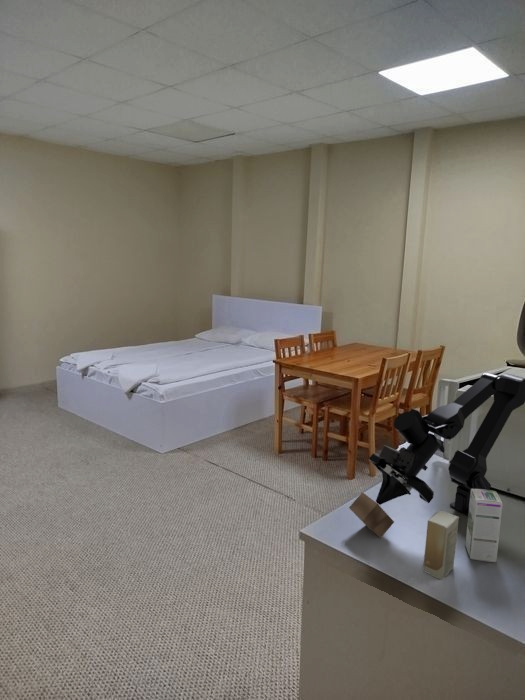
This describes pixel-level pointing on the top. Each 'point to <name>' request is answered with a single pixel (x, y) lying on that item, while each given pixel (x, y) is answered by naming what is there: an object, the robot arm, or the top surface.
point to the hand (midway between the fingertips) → (377, 503)
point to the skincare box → (440, 544)
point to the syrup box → (483, 525)
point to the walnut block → (371, 514)
